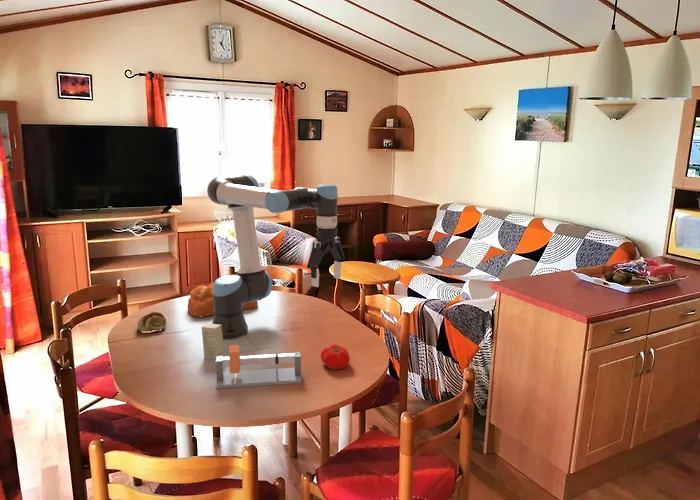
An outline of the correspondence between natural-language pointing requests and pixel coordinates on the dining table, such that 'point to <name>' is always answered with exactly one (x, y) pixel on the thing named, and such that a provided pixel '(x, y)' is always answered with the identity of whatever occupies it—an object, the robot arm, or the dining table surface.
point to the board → (259, 378)
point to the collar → (234, 359)
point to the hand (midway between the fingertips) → (326, 282)
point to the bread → (207, 301)
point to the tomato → (335, 357)
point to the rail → (260, 362)
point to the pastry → (151, 321)
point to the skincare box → (212, 340)
